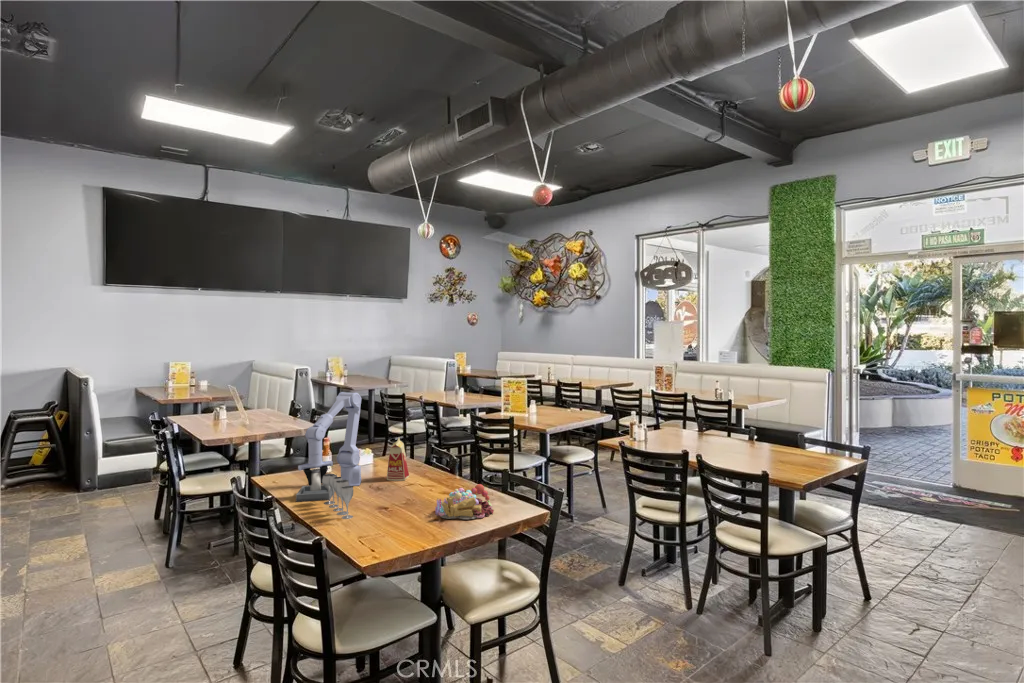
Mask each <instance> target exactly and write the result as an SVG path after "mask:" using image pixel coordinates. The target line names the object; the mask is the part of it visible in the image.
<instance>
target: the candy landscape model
mask: <svg viewBox="0 0 1024 683" xmlns="http://www.w3.org/2000/svg"><path fill="white" fill-rule="evenodd" d="M476 494H477V495H481V496H482V497H483V498H484V499H485V500H483V499H481V498H480V497H479V498H478V497H477V495H476ZM434 509H435V510H434V511H435V515H436V516H437V517H438V516H440V518H442V519H448V520H449V519H451V520H452V519H459V520H472V519H482V518H485V517H486V516H488V517H490V514H494V512H495V509H493V503H491V501H490V496H489V494H488V491H487V490H485V486H484V485H483V484H481V483H479V484H476V485H475V487H473V488H471V490H470V489H467V490H465V489H464V488H463V487H458V488H455V489H454V491H452V492H450V493H449V494H448V496H447V497H444V499H442V498H437V499H436V506H435V508H434Z"/></svg>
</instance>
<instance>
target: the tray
mask: <svg viewBox="0 0 1024 683" xmlns="http://www.w3.org/2000/svg"><path fill="white" fill-rule="evenodd" d="M332 498H333V492H332V490H331V491H330V500H331V499H332ZM316 501H318V502H319V501H320V502H321V501H329V492H328V489H327V488H326V487H325V486H324V485H323V484H321V490H320V491H315V492H312V491H310V486H309V485H302V486H301V487H300V489H299V490H298V491H297V493H296V494H295V503H296V502H297V503H298V502H316Z"/></svg>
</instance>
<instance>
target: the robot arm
mask: <svg viewBox="0 0 1024 683" xmlns="http://www.w3.org/2000/svg"><path fill="white" fill-rule="evenodd" d="M361 404H362V397H361V395H360V394H359V392H345V391H341V392H339V393H338V395H337V396H335V402H334V403H333V404H332V406H331V407H330V408H329V410H328V411H327V413H323V414H320V417H319V418H318V419H317V421H315V422H314V424H313V425H312V426H309V427H308V428H307V429H306V431H305V435H304V436H305V438H306V440H307V443H308V462H307V463H303V464H299V465H297V470H298V471H303V472H304V474H305V477H306V479H307V483H308V484H307V486H310V485H311V472H312V471H311V470H312V469H321V485H323V484H322V479H323V475H325V474H327V473H328V471H329V467H333V464H334V463H333V460H328V461H327V460H326V461H324V460H323V439H324V438H325V437H326V432H327V430H328V429H329V428H330V426H331V425H332V424H333V422H334V418H335V417H336V416H337V414H338V413H340V411H342V409H345V410H346V411H347V412H348V413H347V420H346V427H345V435H344V440H343V441H344V443H343V445H342V446H341V447H340V448H339V451H338V453H337V455H336V462H337V464H339V467H340V477H342V480H348V481H349V486H353V487H358V486H361V483H362V466H361V464H360V465H358V464H359V463H360V461H361V460H360V459H361V456H360V452H361V451H360V449H359V448H358V447H357V446H356V444H357V438H358V437H357V436H358V430H359V423H360V422H359V421H360V414H361Z"/></svg>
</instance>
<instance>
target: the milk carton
mask: <svg viewBox="0 0 1024 683" xmlns="http://www.w3.org/2000/svg"><path fill="white" fill-rule="evenodd" d="M386 470H387V471H386V472H387V473H386V480H387V481H393V482H394V481H395V482H398V481H406V480H407V479H408V478H410V472H409V468H408V462H407V454H406V450H405V444H404V442H403V441H402V440H401V439H400V437H398V438H397V441H395V442H393V443H392V445H391V447H390V448H389V456H388V462H387V469H386Z"/></svg>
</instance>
